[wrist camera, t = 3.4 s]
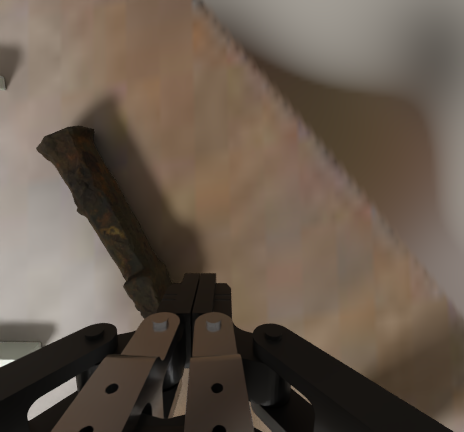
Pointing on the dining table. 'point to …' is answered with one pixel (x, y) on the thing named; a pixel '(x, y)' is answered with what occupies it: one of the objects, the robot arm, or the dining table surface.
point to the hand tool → (108, 214)
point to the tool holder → (14, 350)
